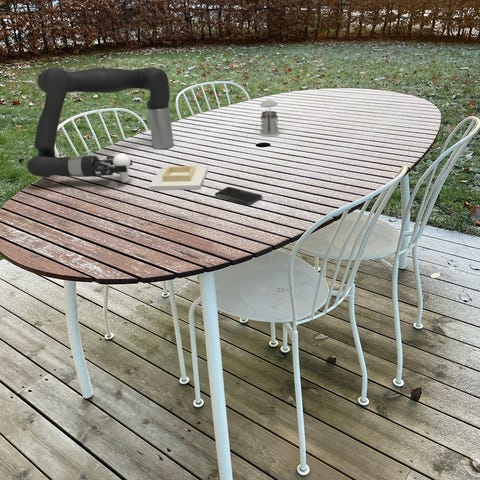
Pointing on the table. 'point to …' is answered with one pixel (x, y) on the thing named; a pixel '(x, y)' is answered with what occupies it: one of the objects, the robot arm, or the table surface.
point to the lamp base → (179, 178)
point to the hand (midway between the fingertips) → (129, 165)
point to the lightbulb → (122, 161)
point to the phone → (238, 196)
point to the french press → (269, 118)
